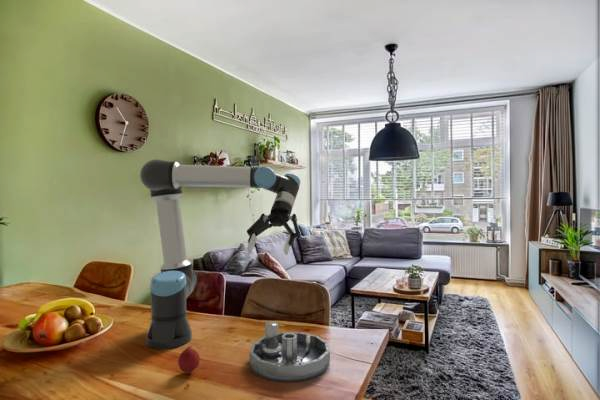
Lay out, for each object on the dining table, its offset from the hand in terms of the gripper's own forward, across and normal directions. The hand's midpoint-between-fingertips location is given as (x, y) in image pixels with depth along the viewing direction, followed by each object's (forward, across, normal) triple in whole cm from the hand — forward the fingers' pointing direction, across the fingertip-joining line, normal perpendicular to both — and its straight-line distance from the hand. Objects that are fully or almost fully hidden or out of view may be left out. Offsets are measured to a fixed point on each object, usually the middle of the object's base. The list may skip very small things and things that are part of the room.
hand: (266, 251), depth 123 cm
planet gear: (+33, -14, -10) cm, 37 cm away
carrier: (+30, -12, -15) cm, 35 cm away
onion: (+41, +13, -4) cm, 43 cm away
